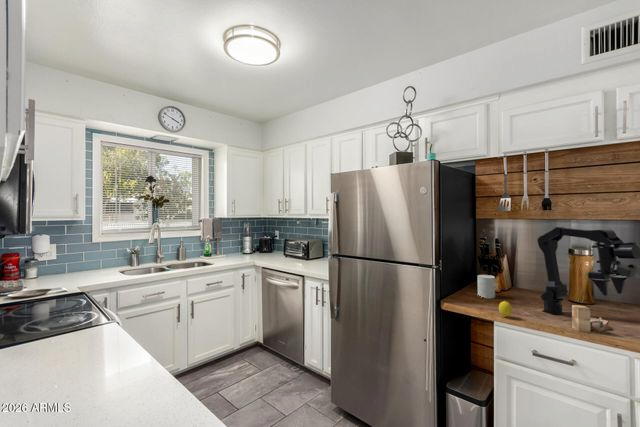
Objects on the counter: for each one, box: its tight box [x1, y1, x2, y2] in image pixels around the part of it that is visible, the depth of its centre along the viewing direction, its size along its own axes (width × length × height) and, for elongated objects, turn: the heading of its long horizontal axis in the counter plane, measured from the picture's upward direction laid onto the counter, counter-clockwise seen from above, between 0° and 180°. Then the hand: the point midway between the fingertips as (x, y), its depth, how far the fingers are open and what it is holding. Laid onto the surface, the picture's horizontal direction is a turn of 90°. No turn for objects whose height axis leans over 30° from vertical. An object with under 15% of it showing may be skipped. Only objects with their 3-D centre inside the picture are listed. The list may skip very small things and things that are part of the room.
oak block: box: [571, 304, 591, 333], centre depth 130 cm, size 4×4×10 cm
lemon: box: [498, 300, 513, 318], centre depth 147 cm, size 6×6×8 cm
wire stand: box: [590, 317, 612, 332], centre depth 132 cm, size 5×10×4 cm, turn 112°
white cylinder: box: [477, 274, 496, 299], centre depth 184 cm, size 10×10×12 cm
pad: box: [590, 316, 609, 325], centre depth 140 cm, size 7×7×1 cm
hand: (612, 294), depth 129 cm, fingers open, 9 cm apart
